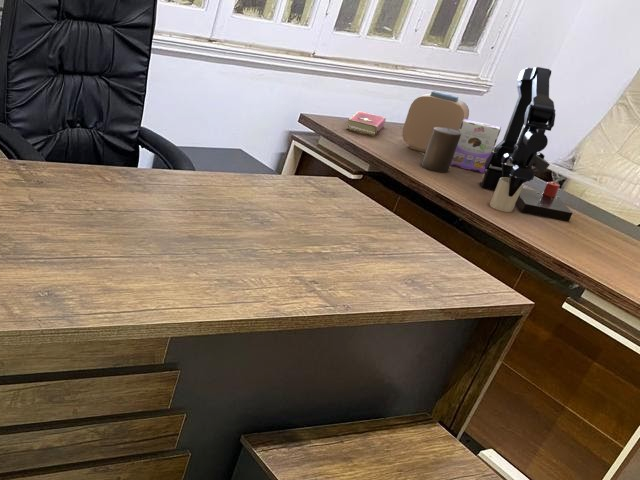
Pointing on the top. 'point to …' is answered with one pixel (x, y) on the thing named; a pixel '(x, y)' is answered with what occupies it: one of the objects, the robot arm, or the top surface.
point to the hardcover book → (366, 122)
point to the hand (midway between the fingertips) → (507, 192)
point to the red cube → (551, 189)
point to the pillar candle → (441, 149)
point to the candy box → (475, 145)
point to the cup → (504, 196)
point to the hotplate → (542, 205)
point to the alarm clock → (432, 118)
